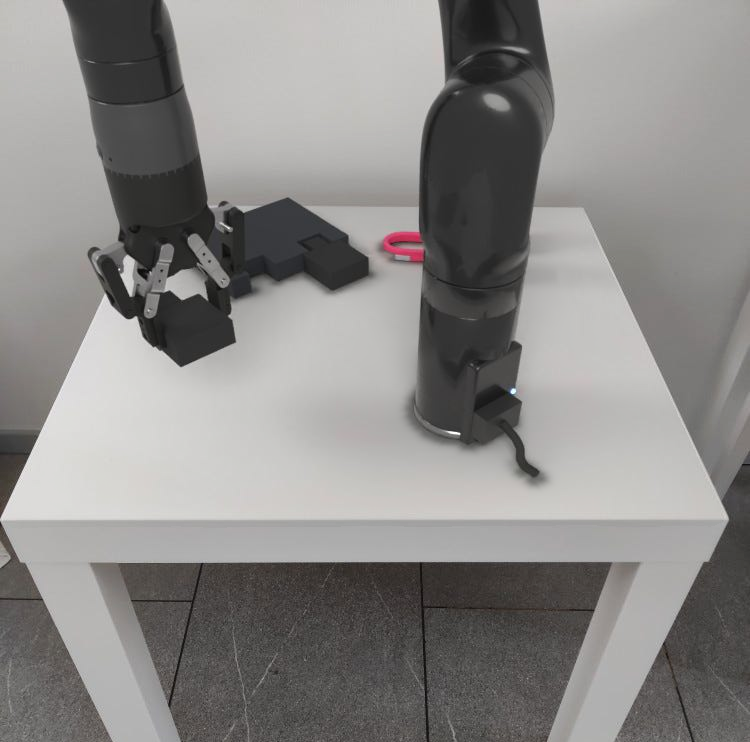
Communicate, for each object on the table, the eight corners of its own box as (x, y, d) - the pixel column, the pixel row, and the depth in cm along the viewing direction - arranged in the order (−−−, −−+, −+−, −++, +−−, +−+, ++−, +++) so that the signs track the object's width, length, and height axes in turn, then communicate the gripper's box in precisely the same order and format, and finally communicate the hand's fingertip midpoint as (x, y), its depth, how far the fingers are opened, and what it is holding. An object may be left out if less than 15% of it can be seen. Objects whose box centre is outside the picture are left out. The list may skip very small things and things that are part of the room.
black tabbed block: (368, 275, 99) (368, 257, 97) (331, 291, 96) (331, 273, 94) (329, 249, 103) (329, 231, 101) (293, 263, 100) (291, 246, 99)
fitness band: (379, 259, 101) (380, 248, 100) (386, 237, 105) (386, 227, 104) (440, 264, 100) (441, 253, 99) (444, 242, 104) (445, 231, 103)
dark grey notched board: (349, 252, 102) (348, 235, 101) (234, 298, 95) (231, 281, 93) (289, 213, 110) (288, 196, 108) (178, 253, 102) (175, 236, 100)
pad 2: (236, 342, 72) (232, 319, 70) (180, 367, 69) (175, 344, 68) (190, 305, 76) (185, 283, 75) (136, 327, 74) (130, 305, 72)
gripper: (84, 194, 54) (140, 382, 67) (253, 139, 61) (276, 321, 73) (41, 160, 58) (102, 344, 71) (204, 112, 65) (233, 289, 77)
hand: (190, 331), depth 72 cm, fingers closed on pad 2, 6 cm apart
